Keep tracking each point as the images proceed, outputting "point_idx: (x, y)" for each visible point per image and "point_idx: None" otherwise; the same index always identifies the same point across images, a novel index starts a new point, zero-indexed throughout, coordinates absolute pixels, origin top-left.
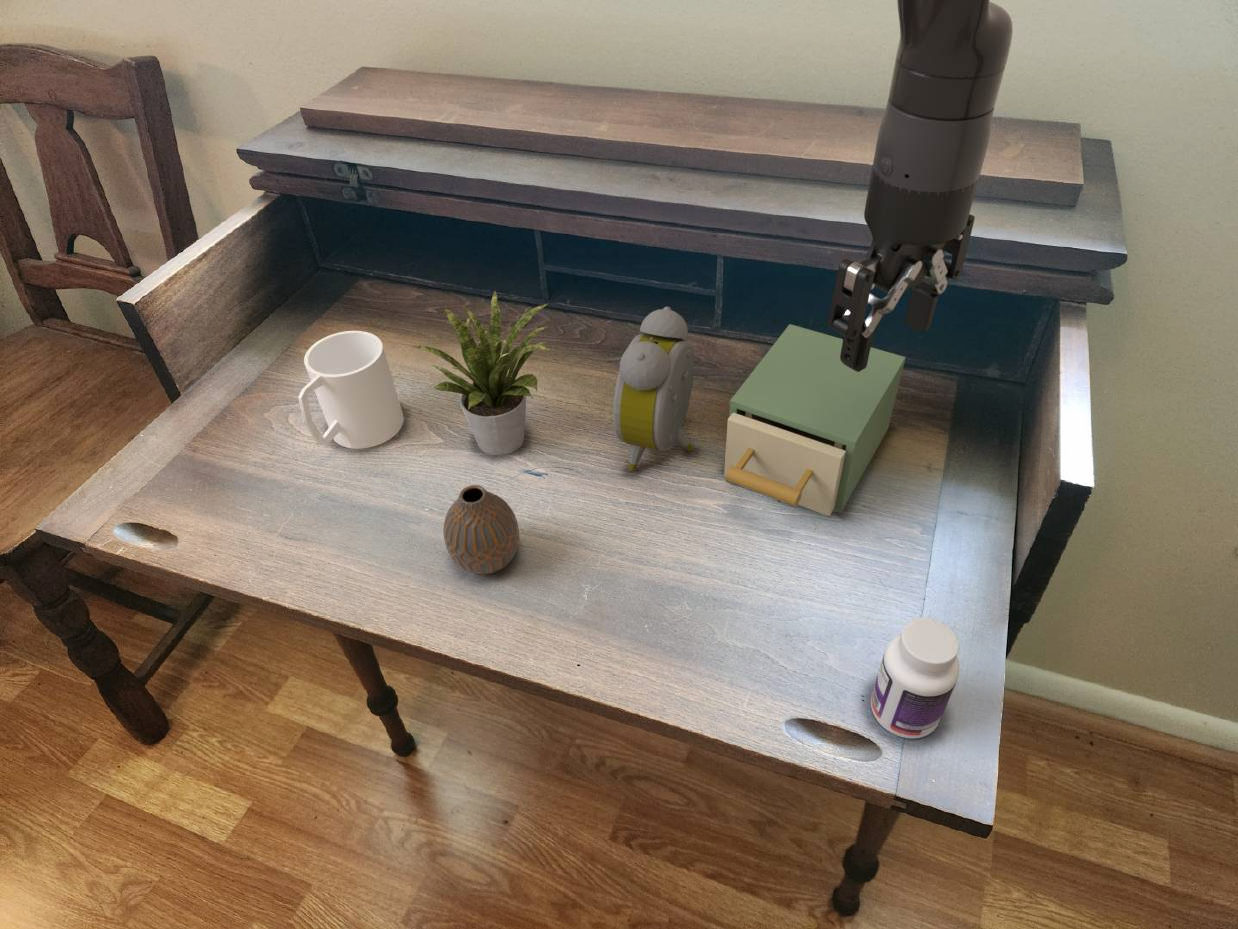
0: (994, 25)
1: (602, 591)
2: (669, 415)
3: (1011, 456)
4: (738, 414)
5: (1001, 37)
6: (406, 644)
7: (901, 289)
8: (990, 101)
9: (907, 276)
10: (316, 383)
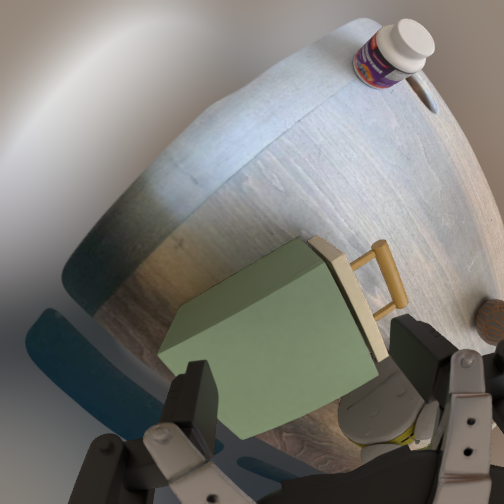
0: None
1: (466, 260)
2: (403, 378)
3: (105, 218)
4: (377, 358)
5: None
6: None
7: (465, 450)
8: None
9: (488, 483)
10: (492, 426)
